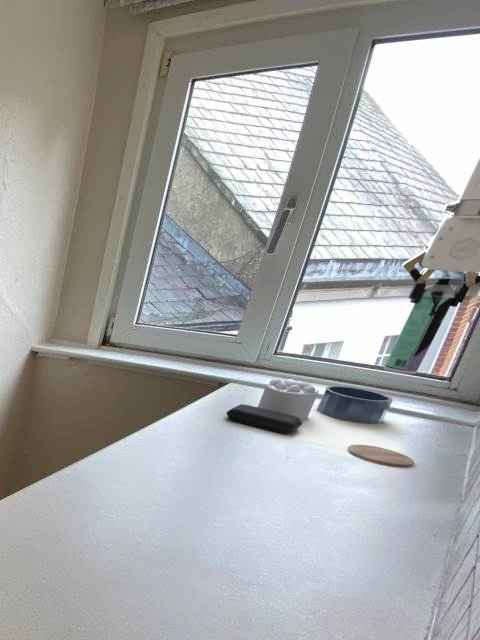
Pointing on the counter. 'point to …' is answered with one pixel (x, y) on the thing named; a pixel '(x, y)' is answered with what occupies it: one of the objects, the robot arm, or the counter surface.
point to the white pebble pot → (289, 397)
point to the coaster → (381, 455)
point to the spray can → (421, 328)
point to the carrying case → (264, 418)
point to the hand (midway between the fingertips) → (433, 303)
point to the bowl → (354, 404)
